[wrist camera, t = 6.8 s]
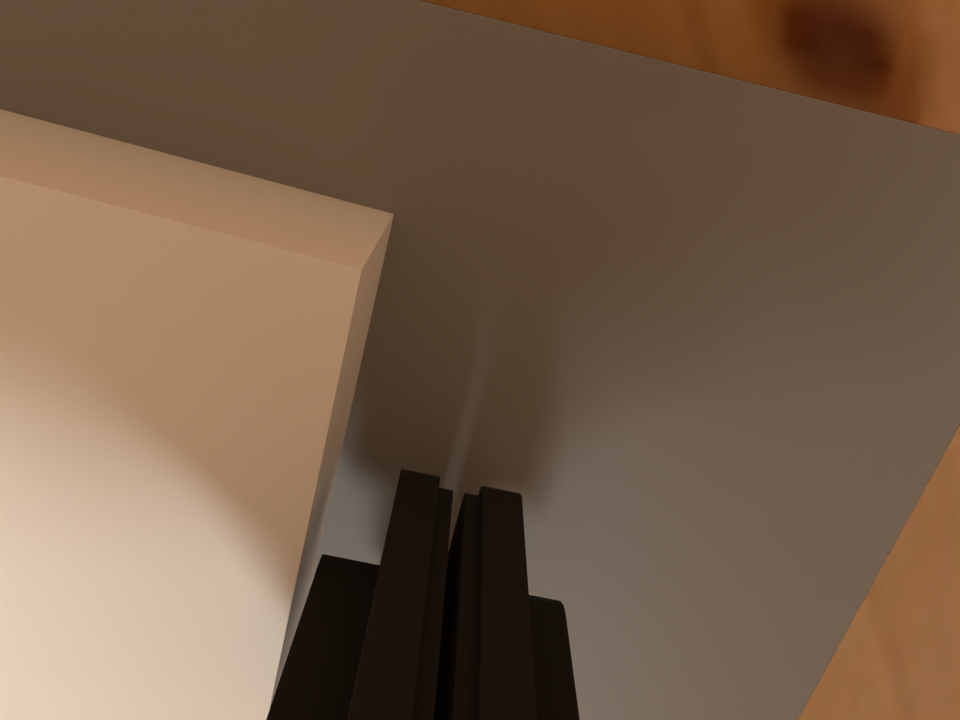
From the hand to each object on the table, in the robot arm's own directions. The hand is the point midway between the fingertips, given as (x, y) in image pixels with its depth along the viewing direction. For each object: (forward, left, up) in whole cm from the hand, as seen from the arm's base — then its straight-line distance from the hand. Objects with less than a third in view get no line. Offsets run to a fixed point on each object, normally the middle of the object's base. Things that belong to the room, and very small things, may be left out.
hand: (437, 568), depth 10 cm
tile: (+5, 0, -1) cm, 5 cm away
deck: (+1, 0, -5) cm, 5 cm away
